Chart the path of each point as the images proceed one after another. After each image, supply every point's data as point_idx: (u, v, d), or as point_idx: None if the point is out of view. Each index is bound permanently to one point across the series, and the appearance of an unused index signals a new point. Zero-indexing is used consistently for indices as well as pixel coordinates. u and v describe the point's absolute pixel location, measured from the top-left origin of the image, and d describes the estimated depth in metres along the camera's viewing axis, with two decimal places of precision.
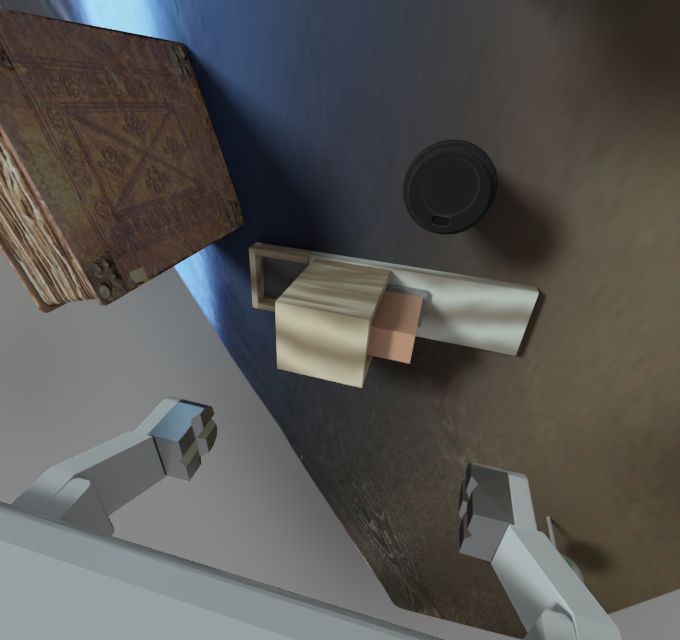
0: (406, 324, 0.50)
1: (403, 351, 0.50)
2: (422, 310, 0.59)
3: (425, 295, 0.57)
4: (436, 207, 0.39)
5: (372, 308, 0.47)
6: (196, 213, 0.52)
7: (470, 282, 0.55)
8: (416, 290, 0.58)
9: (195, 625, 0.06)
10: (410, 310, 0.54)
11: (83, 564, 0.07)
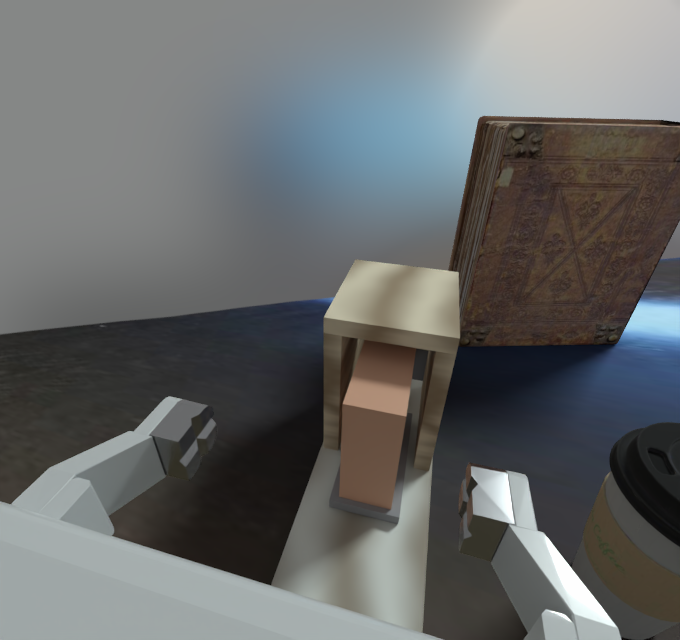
0: None
1: (369, 398, 0.28)
2: (364, 506, 0.32)
3: (394, 514, 0.32)
4: None
5: (452, 368, 0.30)
6: (505, 280, 0.52)
7: (421, 611, 0.27)
8: None
9: (195, 625, 0.06)
10: None
11: (83, 564, 0.07)
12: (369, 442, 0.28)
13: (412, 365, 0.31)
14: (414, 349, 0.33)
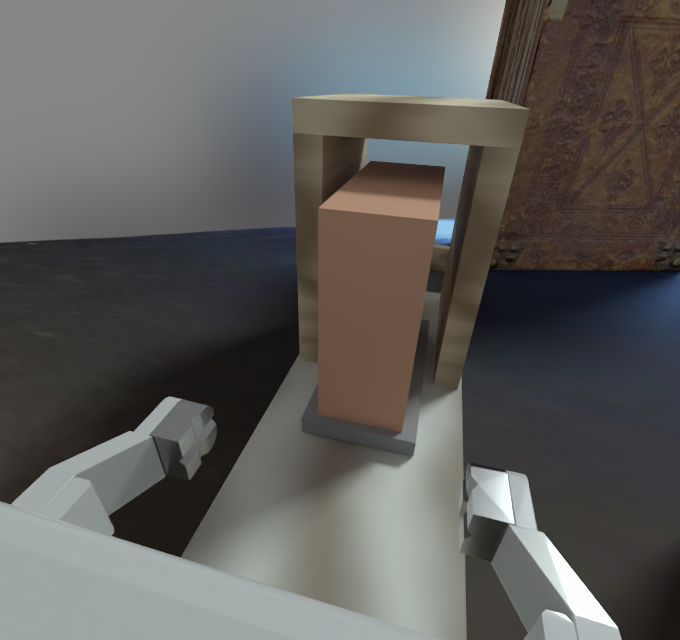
0: None
1: (367, 205, 0.15)
2: (357, 427, 0.20)
3: (408, 438, 0.19)
4: None
5: (510, 182, 0.18)
6: (548, 171, 0.39)
7: (461, 594, 0.14)
8: (417, 423, 0.21)
9: (195, 625, 0.06)
10: None
11: (83, 564, 0.07)
12: (367, 293, 0.16)
13: (440, 186, 0.18)
14: (441, 176, 0.20)
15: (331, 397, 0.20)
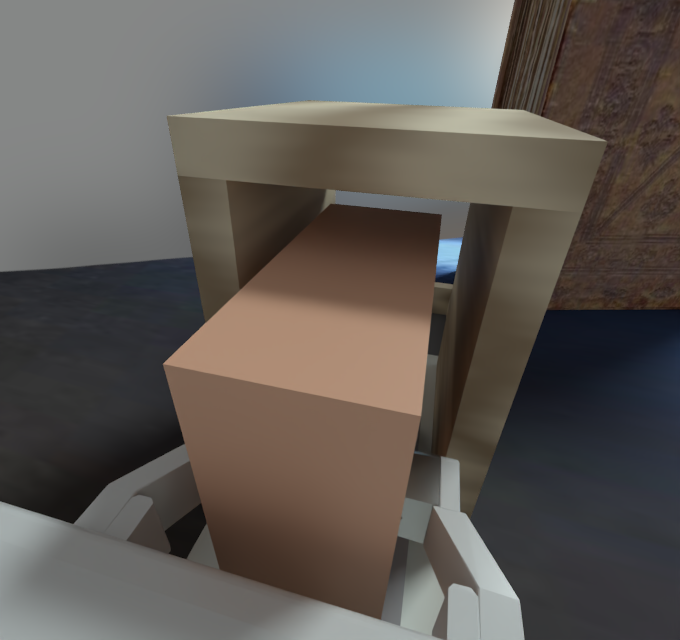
0: None
1: (277, 347, 0.07)
2: None
3: None
4: None
5: (559, 268, 0.10)
6: None
7: None
8: None
9: (195, 625, 0.06)
10: None
11: (83, 563, 0.07)
12: (286, 506, 0.08)
13: (432, 268, 0.11)
14: (435, 240, 0.12)
15: None
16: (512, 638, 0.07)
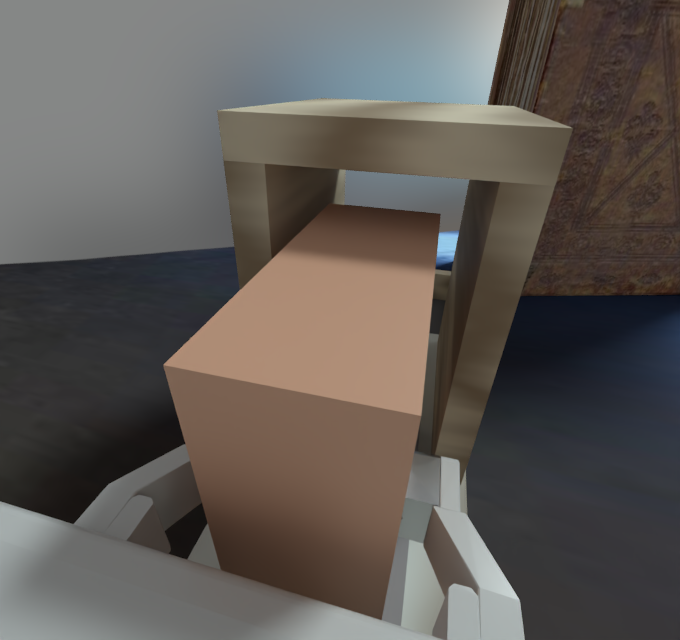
0: None
1: (277, 347, 0.07)
2: None
3: None
4: None
5: (538, 233, 0.12)
6: (562, 185, 0.34)
7: None
8: None
9: (195, 625, 0.06)
10: None
11: (83, 564, 0.07)
12: (286, 506, 0.08)
13: (431, 267, 0.11)
14: (434, 239, 0.12)
15: None
16: (512, 638, 0.07)
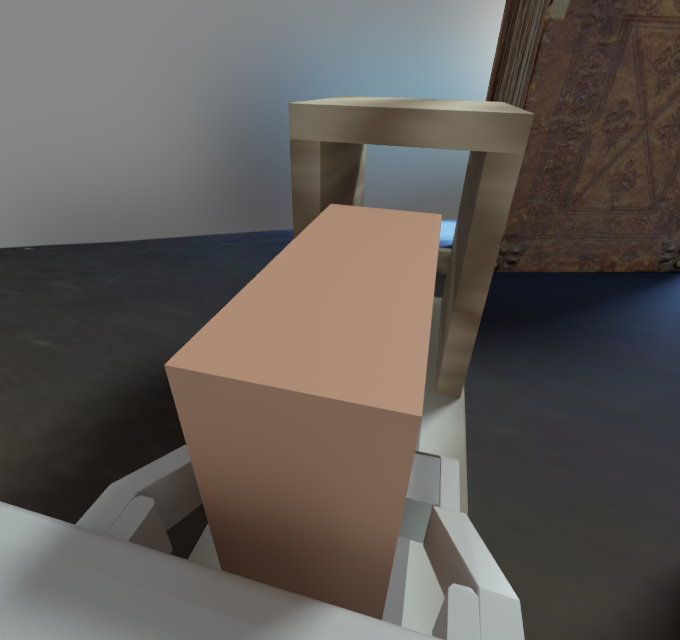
0: None
1: (278, 347, 0.07)
2: None
3: None
4: None
5: (514, 188, 0.17)
6: (549, 173, 0.39)
7: None
8: None
9: (195, 625, 0.06)
10: None
11: (83, 564, 0.07)
12: (287, 506, 0.08)
13: (433, 268, 0.11)
14: (435, 240, 0.12)
15: None
16: (512, 638, 0.07)
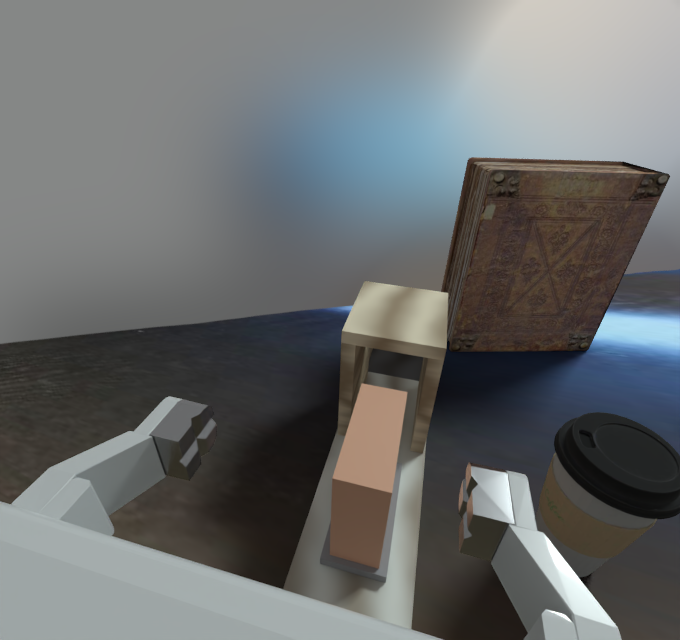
0: None
1: (357, 472, 0.29)
2: (353, 565, 0.34)
3: (382, 573, 0.33)
4: (602, 437, 0.32)
5: (441, 370, 0.39)
6: (490, 295, 0.61)
7: (415, 553, 0.36)
8: (388, 559, 0.35)
9: (195, 625, 0.06)
10: None
11: (83, 564, 0.07)
12: (357, 511, 0.30)
13: (400, 433, 0.32)
14: (402, 414, 0.34)
15: (337, 548, 0.34)
16: None
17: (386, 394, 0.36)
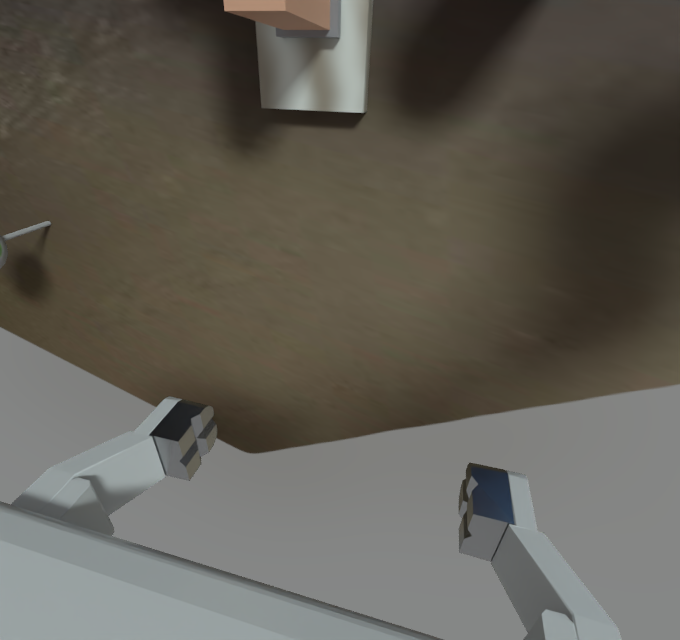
0: None
1: None
2: (306, 33, 0.35)
3: (333, 34, 0.35)
4: None
5: None
6: None
7: None
8: (339, 14, 0.34)
9: (195, 625, 0.06)
10: (313, 1, 0.30)
11: (83, 564, 0.07)
12: (272, 17, 0.29)
13: None
14: None
15: (285, 28, 0.34)
16: None
17: None
